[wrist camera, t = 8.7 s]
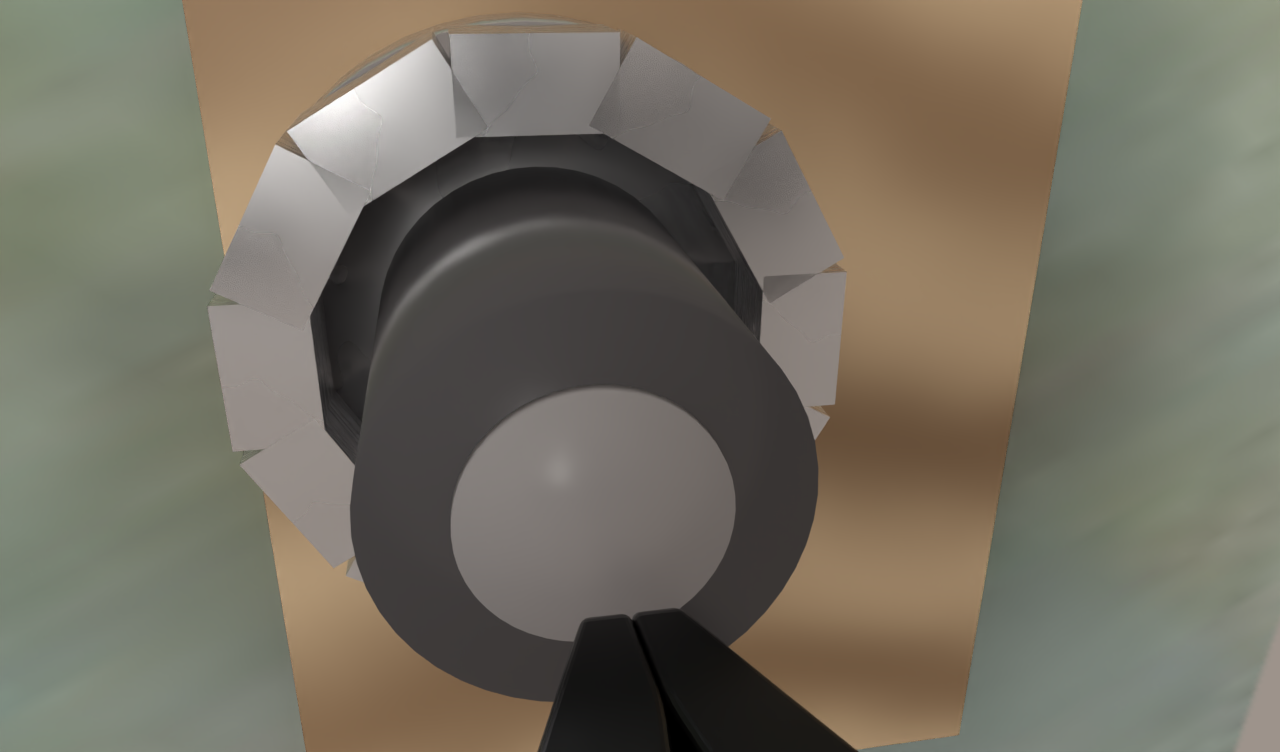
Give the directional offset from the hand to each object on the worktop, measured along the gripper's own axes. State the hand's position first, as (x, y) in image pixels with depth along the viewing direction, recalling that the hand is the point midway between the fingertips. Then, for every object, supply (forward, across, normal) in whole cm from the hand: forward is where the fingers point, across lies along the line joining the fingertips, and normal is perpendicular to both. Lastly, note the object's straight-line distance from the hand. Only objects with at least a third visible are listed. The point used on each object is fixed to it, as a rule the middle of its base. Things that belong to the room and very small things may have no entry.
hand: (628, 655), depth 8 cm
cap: (+8, 0, 0) cm, 8 cm away
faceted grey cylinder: (+10, 0, 0) cm, 10 cm away
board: (+11, -2, +3) cm, 12 cm away
